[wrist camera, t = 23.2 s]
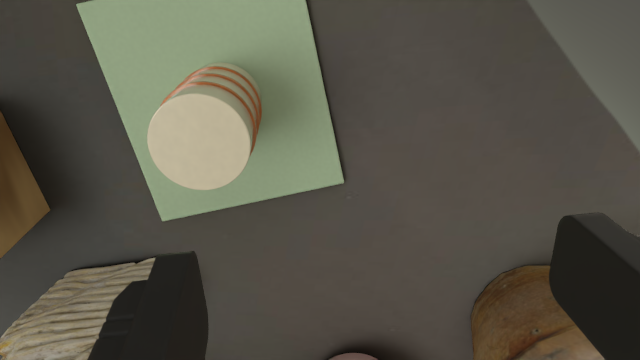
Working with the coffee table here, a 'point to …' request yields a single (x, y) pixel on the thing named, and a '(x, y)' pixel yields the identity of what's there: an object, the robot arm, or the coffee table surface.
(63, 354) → the fossil tooth
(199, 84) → the banded jar
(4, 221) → the stand
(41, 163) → the coffee table surface
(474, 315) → the potted plant
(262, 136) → the mat
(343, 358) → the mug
